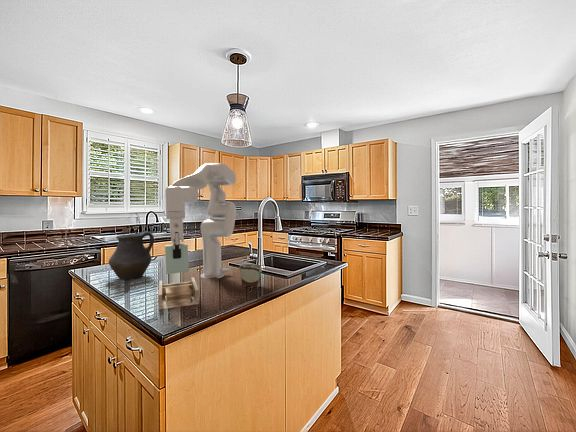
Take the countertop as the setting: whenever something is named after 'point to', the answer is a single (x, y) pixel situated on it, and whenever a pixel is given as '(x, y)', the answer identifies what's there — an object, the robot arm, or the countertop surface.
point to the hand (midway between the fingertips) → (177, 257)
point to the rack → (191, 285)
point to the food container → (250, 275)
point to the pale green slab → (176, 260)
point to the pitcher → (131, 256)
